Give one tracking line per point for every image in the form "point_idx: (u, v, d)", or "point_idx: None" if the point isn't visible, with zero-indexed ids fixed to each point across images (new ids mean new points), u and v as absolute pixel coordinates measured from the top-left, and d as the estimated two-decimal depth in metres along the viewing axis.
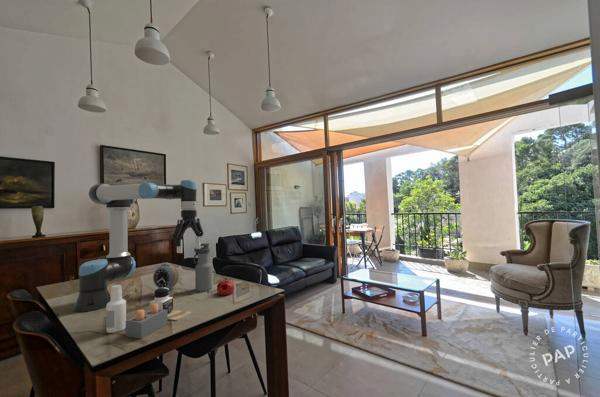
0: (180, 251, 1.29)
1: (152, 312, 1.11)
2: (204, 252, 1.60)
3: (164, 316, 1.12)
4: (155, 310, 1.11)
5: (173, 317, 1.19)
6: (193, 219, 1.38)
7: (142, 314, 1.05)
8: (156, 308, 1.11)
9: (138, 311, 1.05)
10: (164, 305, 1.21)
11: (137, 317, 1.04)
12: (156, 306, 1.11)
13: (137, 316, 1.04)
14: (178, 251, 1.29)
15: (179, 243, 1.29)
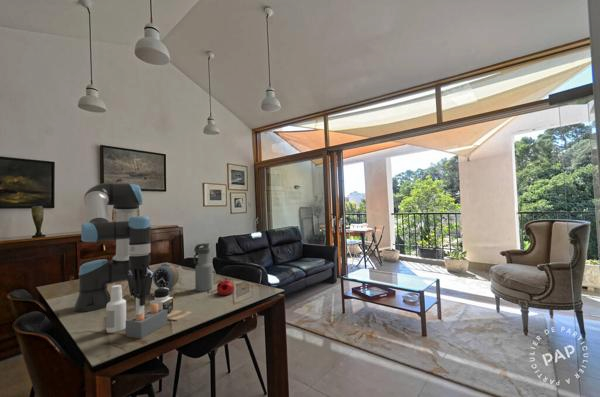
0: None
1: (152, 312, 1.11)
2: (204, 252, 1.60)
3: (164, 316, 1.12)
4: (155, 310, 1.11)
5: (173, 317, 1.19)
6: (142, 267, 1.04)
7: (142, 317, 1.05)
8: (156, 308, 1.11)
9: None
10: (164, 305, 1.21)
11: (137, 320, 1.04)
12: (156, 306, 1.11)
13: (137, 319, 1.04)
14: None
15: (135, 301, 1.05)
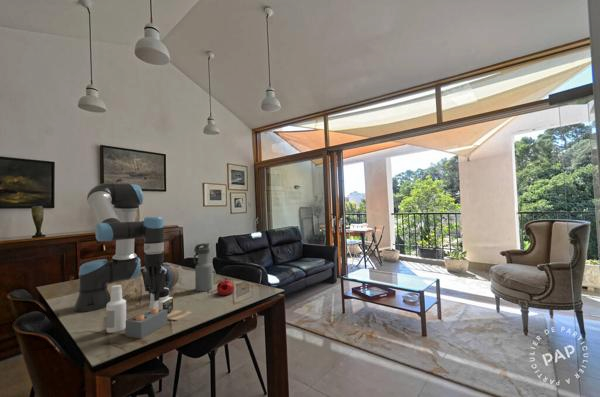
0: None
1: None
2: (204, 252, 1.60)
3: (164, 316, 1.12)
4: None
5: (173, 317, 1.19)
6: (157, 264, 1.11)
7: (142, 319, 1.05)
8: (156, 312, 1.11)
9: (138, 316, 1.05)
10: (164, 305, 1.21)
11: None
12: (156, 310, 1.11)
13: None
14: None
15: None
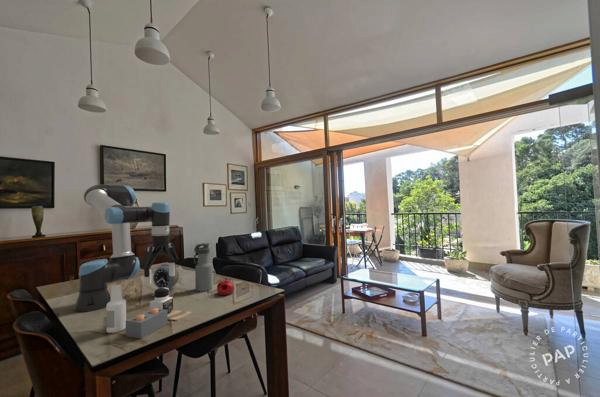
0: (149, 282, 1.17)
1: None
2: (204, 252, 1.60)
3: (164, 316, 1.12)
4: None
5: (173, 317, 1.19)
6: (166, 245, 1.26)
7: (142, 319, 1.05)
8: None
9: (138, 316, 1.05)
10: (164, 305, 1.21)
11: None
12: (156, 311, 1.11)
13: None
14: (147, 282, 1.17)
15: (147, 273, 1.17)
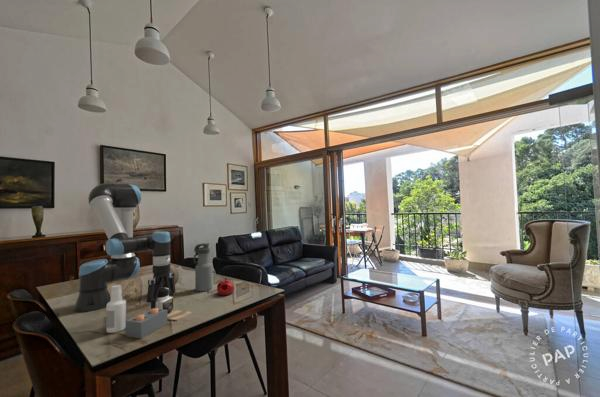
0: None
1: None
2: (204, 252, 1.60)
3: (164, 316, 1.12)
4: None
5: (173, 317, 1.19)
6: (167, 273, 1.27)
7: (142, 319, 1.05)
8: None
9: (138, 316, 1.05)
10: (164, 305, 1.21)
11: None
12: (156, 311, 1.11)
13: None
14: None
15: (154, 306, 1.20)
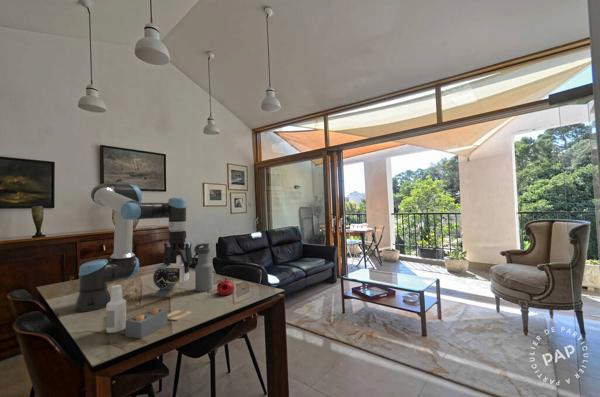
0: None
1: None
2: (204, 252, 1.60)
3: (164, 316, 1.12)
4: None
5: (173, 317, 1.19)
6: (179, 241, 1.22)
7: (142, 319, 1.05)
8: None
9: (138, 316, 1.05)
10: (167, 271, 1.20)
11: None
12: (156, 311, 1.11)
13: None
14: None
15: None
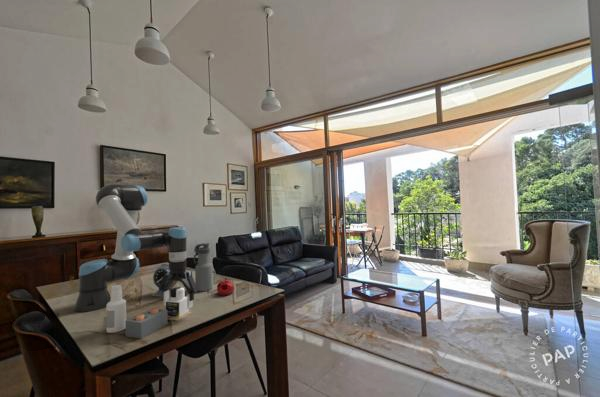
0: None
1: None
2: (204, 252, 1.60)
3: (164, 316, 1.12)
4: None
5: (173, 317, 1.19)
6: (179, 272, 1.21)
7: (142, 319, 1.05)
8: None
9: (138, 316, 1.05)
10: (167, 305, 1.20)
11: None
12: (156, 311, 1.11)
13: None
14: None
15: (163, 295, 1.24)
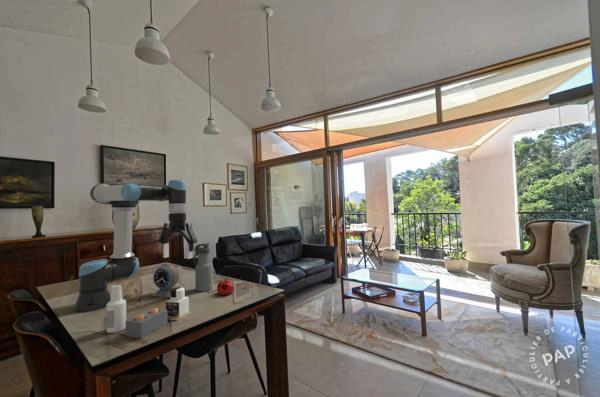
0: None
1: None
2: (204, 252, 1.60)
3: (164, 316, 1.12)
4: None
5: (173, 317, 1.19)
6: (179, 223, 1.22)
7: (142, 319, 1.05)
8: None
9: (138, 316, 1.05)
10: (167, 305, 1.20)
11: None
12: (156, 311, 1.11)
13: None
14: None
15: (163, 247, 1.25)
